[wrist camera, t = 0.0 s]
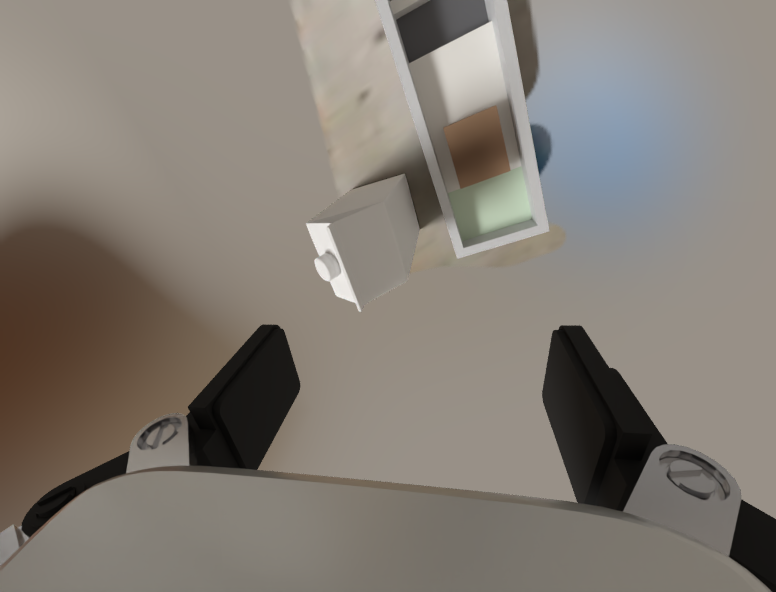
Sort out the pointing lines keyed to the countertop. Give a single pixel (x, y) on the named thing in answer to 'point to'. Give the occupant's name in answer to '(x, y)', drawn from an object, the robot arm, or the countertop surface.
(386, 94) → the countertop surface
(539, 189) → the box
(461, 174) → the block
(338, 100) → the countertop surface
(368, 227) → the milk carton
